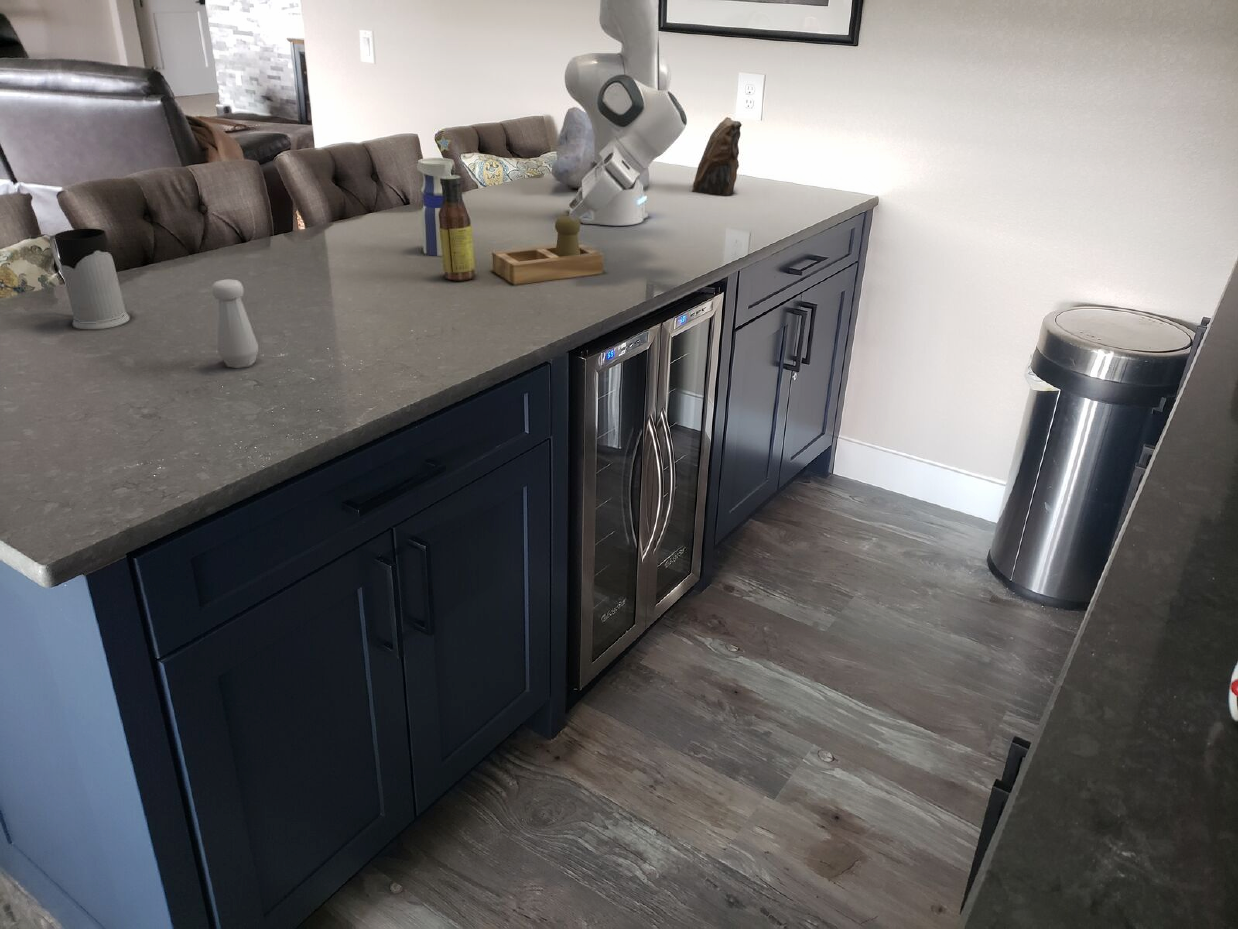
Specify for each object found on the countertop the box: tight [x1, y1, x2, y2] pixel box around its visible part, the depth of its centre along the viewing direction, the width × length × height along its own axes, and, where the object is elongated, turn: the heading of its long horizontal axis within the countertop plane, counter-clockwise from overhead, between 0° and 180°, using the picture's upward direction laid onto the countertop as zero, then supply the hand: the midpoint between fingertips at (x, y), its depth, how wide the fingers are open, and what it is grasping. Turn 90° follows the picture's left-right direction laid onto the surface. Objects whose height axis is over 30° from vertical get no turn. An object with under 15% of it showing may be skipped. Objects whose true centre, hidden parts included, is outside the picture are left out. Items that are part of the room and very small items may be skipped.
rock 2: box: [691, 116, 743, 197], centre depth 267 cm, size 13×13×20 cm
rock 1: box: [551, 106, 650, 189], centre depth 268 cm, size 23×30×27 cm
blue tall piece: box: [416, 135, 456, 257], centre depth 200 cm, size 8×9×25 cm
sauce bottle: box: [439, 174, 476, 282], centre depth 183 cm, size 7×6×20 cm
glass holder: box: [49, 228, 131, 330], centre depth 157 cm, size 9×14×15 cm, turn 58°
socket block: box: [491, 242, 604, 286], centre depth 192 cm, size 11×20×4 cm, turn 119°
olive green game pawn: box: [554, 215, 581, 257], centre depth 192 cm, size 6×6×11 cm
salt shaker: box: [211, 278, 259, 369], centre depth 141 cm, size 6×6×13 cm
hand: (571, 212), depth 189 cm, fingers open, 8 cm apart
